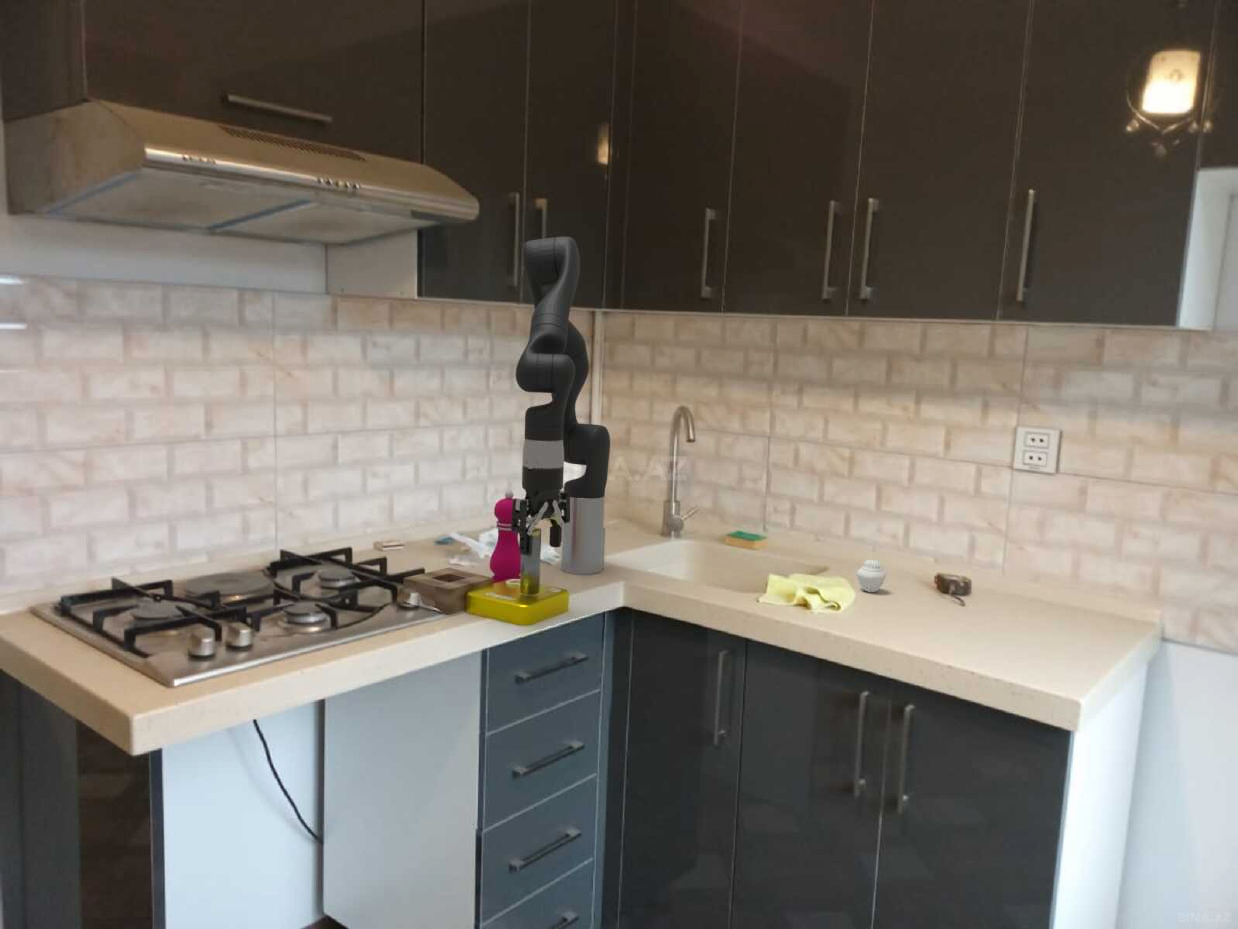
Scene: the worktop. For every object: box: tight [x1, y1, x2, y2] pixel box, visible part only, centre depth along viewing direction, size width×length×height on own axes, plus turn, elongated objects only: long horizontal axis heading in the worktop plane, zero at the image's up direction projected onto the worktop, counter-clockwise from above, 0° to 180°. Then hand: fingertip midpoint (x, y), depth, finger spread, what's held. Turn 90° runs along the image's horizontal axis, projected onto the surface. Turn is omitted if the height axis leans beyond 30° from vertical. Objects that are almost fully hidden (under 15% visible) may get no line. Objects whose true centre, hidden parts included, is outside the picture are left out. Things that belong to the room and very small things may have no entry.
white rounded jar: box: [856, 558, 886, 593], centre depth 206 cm, size 6×6×7 cm
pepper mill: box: [489, 490, 521, 584], centre depth 196 cm, size 7×7×20 cm
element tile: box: [465, 579, 570, 627], centre depth 178 cm, size 15×15×5 cm
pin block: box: [402, 567, 493, 616], centre depth 181 cm, size 12×12×5 cm
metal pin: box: [519, 526, 542, 595], centre depth 175 cm, size 4×4×12 cm
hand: (540, 550), depth 174 cm, fingers open, 8 cm apart
